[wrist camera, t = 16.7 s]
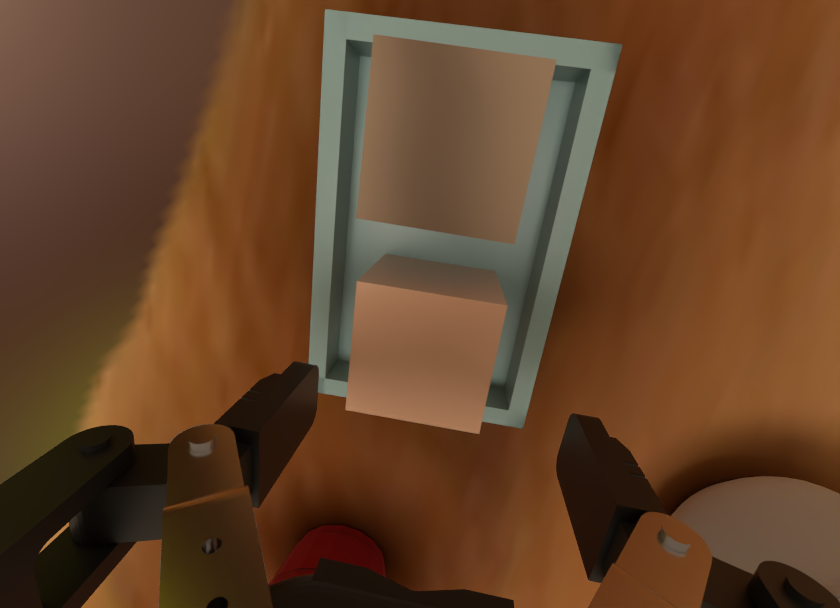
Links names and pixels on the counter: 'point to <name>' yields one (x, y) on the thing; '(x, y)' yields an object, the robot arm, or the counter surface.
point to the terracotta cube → (425, 342)
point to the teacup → (770, 525)
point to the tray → (513, 263)
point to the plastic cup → (331, 551)
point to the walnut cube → (450, 137)
